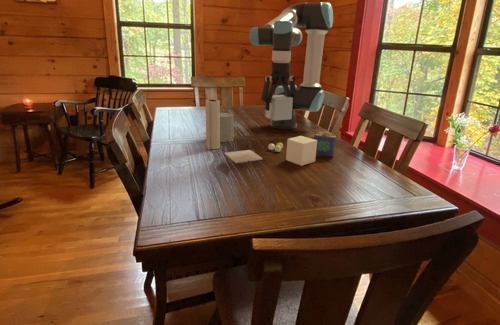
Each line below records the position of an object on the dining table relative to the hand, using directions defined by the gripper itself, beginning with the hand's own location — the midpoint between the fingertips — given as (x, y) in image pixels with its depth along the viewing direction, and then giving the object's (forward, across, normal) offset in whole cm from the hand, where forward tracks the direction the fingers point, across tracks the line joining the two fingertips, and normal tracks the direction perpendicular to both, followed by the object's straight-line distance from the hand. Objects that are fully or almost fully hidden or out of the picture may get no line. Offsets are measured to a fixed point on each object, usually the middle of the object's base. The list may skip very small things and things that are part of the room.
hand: (277, 116), depth 141 cm
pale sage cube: (0, 0, 0) cm, 0 cm away
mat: (+15, +17, +2) cm, 23 cm away
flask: (+16, -16, +13) cm, 26 cm away
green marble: (+15, 0, +2) cm, 15 cm away
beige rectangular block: (+15, -3, +15) cm, 22 cm away
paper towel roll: (+16, +25, -14) cm, 33 cm away
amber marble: (+15, -2, -2) cm, 15 cm away
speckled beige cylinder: (+16, +15, -25) cm, 33 cm away
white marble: (+15, +2, -2) cm, 15 cm away
